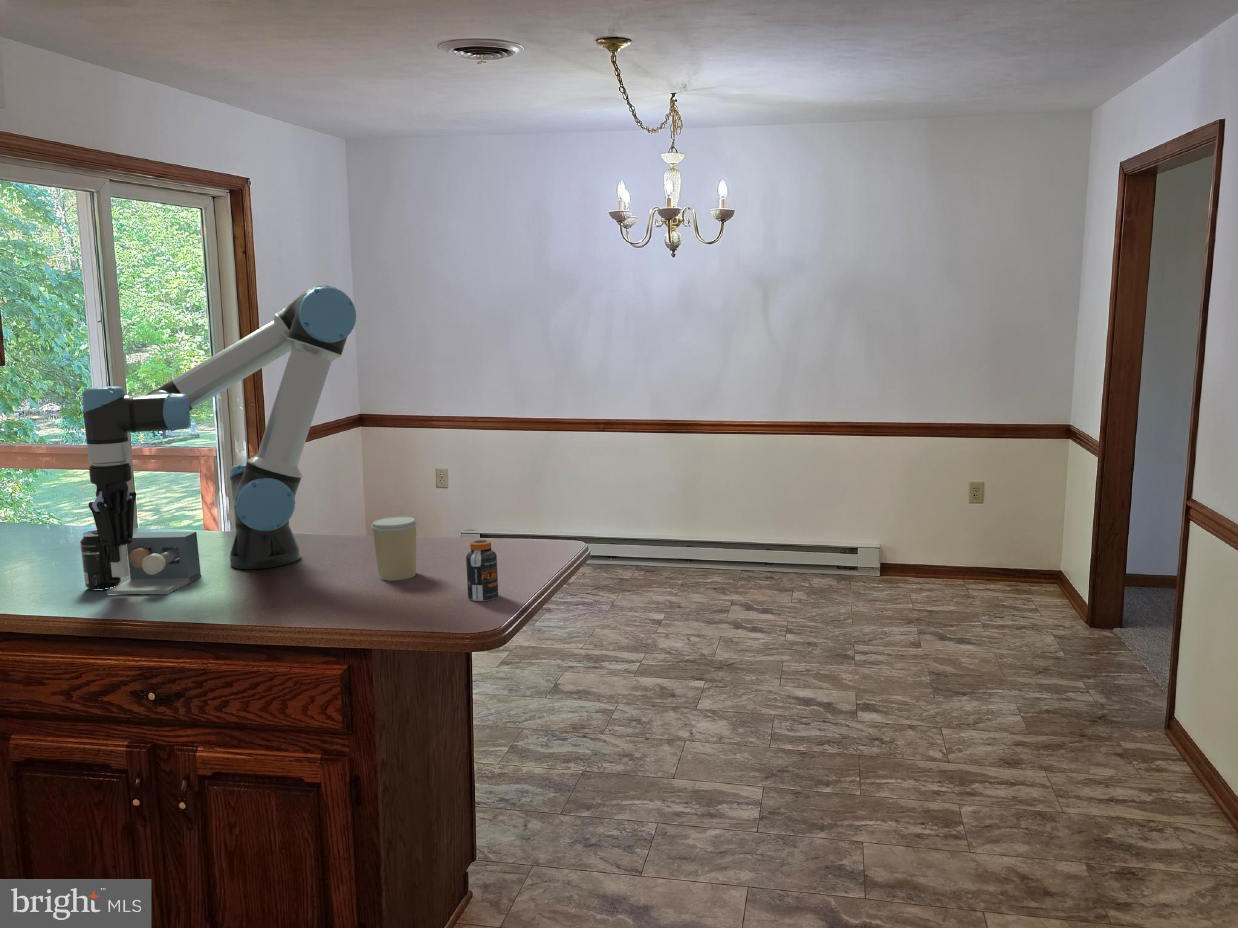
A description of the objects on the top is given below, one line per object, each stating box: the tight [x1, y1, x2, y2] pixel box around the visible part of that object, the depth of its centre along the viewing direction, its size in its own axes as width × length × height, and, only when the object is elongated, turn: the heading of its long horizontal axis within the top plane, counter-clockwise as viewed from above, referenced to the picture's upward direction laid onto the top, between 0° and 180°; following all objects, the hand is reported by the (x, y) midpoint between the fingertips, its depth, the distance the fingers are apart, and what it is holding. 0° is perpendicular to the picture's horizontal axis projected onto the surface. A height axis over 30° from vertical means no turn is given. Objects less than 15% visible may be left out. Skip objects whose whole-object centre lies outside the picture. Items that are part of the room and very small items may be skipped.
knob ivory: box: [142, 547, 179, 575], centre depth 208 cm, size 4×13×4 cm, turn 177°
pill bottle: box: [465, 539, 499, 602], centre depth 191 cm, size 6×6×11 cm
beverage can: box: [79, 529, 122, 590], centre depth 208 cm, size 7×7×12 cm
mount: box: [106, 531, 202, 595], centre depth 208 cm, size 13×14×10 cm
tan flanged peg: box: [128, 547, 152, 568], centre depth 214 cm, size 4×13×4 cm, turn 177°
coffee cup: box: [371, 516, 417, 582], centre depth 209 cm, size 9×9×12 cm
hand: (120, 576), depth 202 cm, fingers closed
